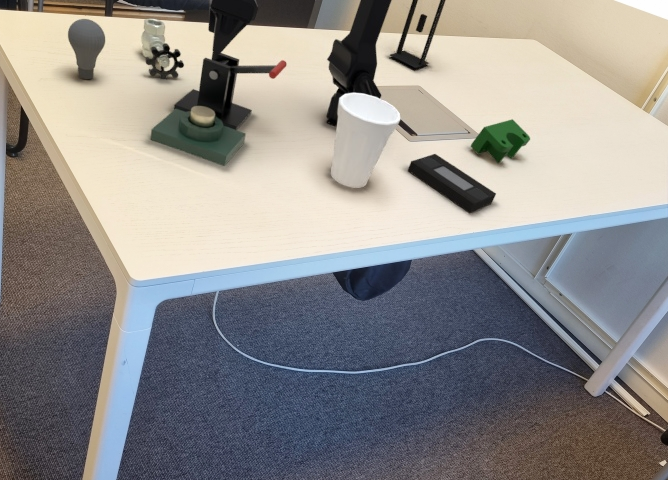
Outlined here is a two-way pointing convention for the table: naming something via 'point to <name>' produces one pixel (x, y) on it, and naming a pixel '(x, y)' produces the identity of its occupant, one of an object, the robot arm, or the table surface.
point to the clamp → (501, 140)
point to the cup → (361, 137)
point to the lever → (257, 68)
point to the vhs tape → (452, 182)
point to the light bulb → (86, 45)
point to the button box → (198, 137)
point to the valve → (158, 49)
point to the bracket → (217, 92)
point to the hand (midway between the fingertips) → (213, 42)
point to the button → (202, 116)
